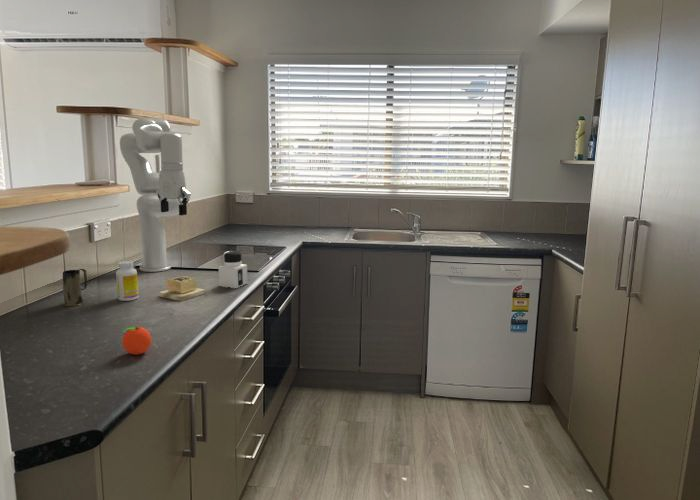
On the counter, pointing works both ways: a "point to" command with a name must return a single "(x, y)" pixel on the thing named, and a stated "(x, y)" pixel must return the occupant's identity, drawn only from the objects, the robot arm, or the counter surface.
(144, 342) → the clementine
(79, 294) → the mug
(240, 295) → the counter surface
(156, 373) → the counter surface
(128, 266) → the supplement bottle
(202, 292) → the post stand
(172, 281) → the collar
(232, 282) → the container
